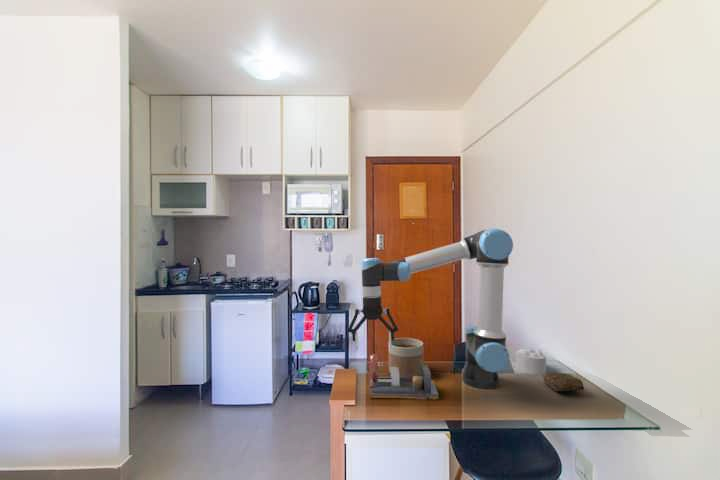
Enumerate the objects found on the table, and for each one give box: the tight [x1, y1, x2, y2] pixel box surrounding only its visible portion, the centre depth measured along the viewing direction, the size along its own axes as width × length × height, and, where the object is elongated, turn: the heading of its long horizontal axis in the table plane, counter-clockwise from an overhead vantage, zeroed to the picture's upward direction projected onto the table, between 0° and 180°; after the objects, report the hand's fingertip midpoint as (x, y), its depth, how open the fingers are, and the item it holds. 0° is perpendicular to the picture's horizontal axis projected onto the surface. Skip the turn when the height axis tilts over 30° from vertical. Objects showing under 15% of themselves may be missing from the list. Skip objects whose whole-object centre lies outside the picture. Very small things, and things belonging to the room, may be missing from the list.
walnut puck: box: [412, 376, 423, 389], centre depth 132 cm, size 4×4×4 cm
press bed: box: [369, 364, 440, 399], centre depth 133 cm, size 26×13×9 cm, turn 87°
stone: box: [542, 371, 585, 392], centre depth 134 cm, size 10×14×6 cm
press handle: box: [369, 353, 400, 388], centre depth 133 cm, size 12×8×12 cm
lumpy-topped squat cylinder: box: [516, 347, 547, 376], centre depth 155 cm, size 10×13×9 cm
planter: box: [387, 337, 424, 379], centre depth 153 cm, size 16×16×14 cm
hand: (373, 349), depth 133 cm, fingers open, 13 cm apart
